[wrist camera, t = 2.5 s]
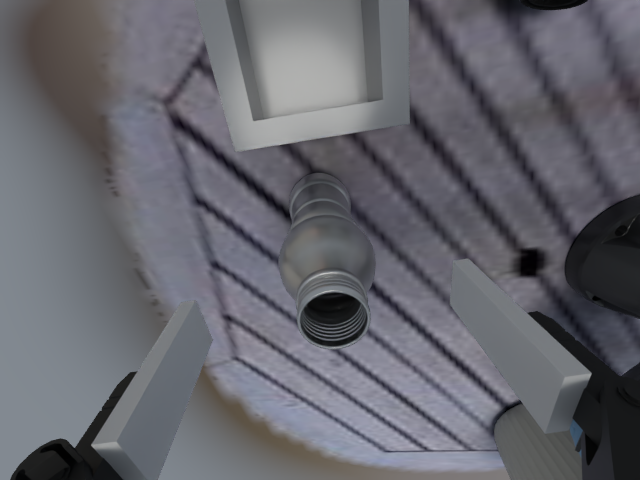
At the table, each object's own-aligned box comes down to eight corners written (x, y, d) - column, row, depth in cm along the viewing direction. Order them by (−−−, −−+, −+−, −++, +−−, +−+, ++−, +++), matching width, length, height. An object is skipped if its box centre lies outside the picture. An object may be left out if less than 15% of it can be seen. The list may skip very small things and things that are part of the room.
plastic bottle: (340, 161, 30) (390, 243, 12) (352, 218, 33) (408, 356, 14) (282, 176, 30) (244, 278, 12) (299, 232, 33) (289, 381, 15)
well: (386, 120, 28) (409, 123, 22) (251, 142, 28) (234, 152, 22) (379, -69, 22) (407, -140, 16) (207, -38, 23) (168, -95, 16)
